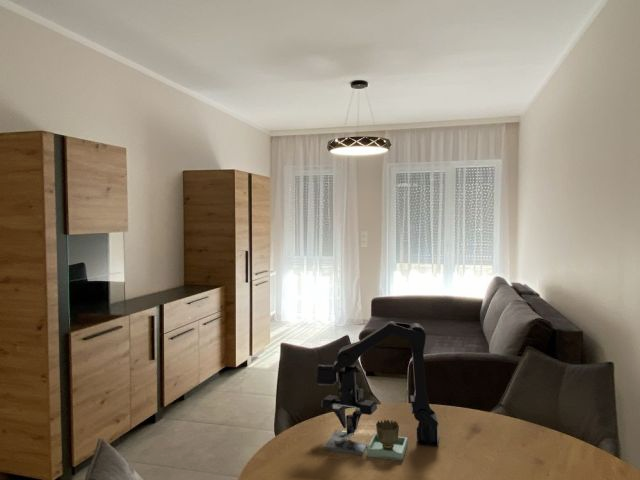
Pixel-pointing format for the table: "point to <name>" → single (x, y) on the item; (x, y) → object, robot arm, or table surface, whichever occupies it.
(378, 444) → the tray
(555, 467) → the table surface
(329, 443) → the grey l-bracket
